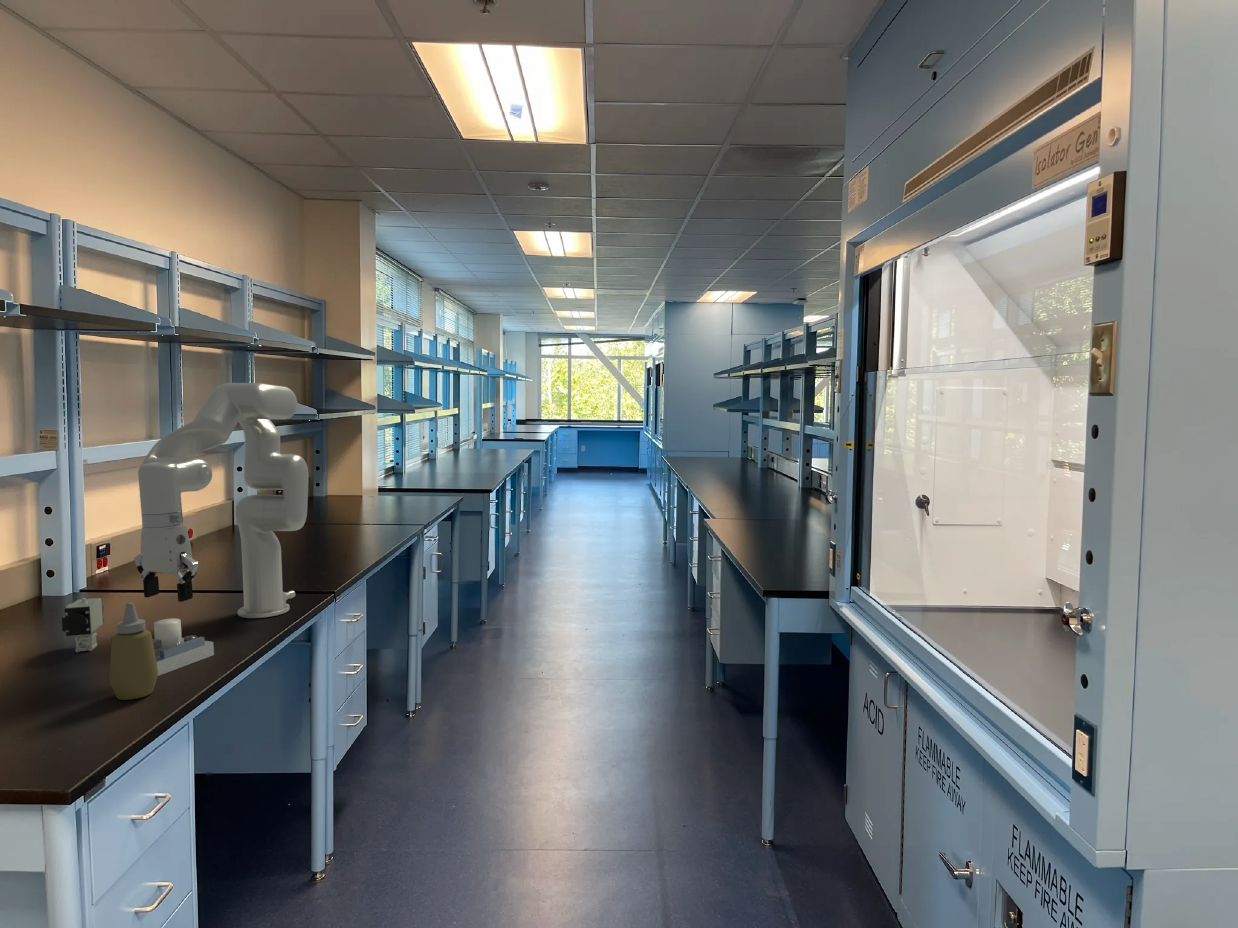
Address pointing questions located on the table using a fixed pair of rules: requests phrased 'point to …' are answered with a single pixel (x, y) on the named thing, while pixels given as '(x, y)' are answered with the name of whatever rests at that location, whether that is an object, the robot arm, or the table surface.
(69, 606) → the pneumatic valve
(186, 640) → the grey fixture tray
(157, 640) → the white rounded cylinder
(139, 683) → the squeeze bottle
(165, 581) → the table surface
